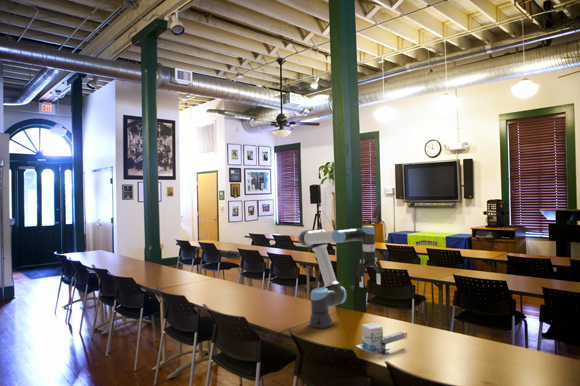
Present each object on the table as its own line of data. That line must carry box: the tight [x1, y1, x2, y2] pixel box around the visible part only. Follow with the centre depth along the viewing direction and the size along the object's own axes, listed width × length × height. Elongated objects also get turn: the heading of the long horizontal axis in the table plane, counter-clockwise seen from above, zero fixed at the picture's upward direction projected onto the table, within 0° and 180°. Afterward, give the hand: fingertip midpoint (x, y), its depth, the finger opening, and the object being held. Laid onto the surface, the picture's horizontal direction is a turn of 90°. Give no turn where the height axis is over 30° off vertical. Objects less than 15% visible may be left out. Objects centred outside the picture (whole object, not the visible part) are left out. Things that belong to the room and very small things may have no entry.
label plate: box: [355, 343, 391, 355], centre depth 213 cm, size 13×13×1 cm
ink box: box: [361, 322, 384, 350], centre depth 214 cm, size 9×8×12 cm
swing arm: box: [380, 330, 408, 345], centre depth 210 cm, size 18×3×3 cm, turn 122°
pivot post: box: [377, 344, 390, 356], centre depth 205 cm, size 4×4×5 cm
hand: (370, 285), depth 238 cm, fingers open, 13 cm apart
